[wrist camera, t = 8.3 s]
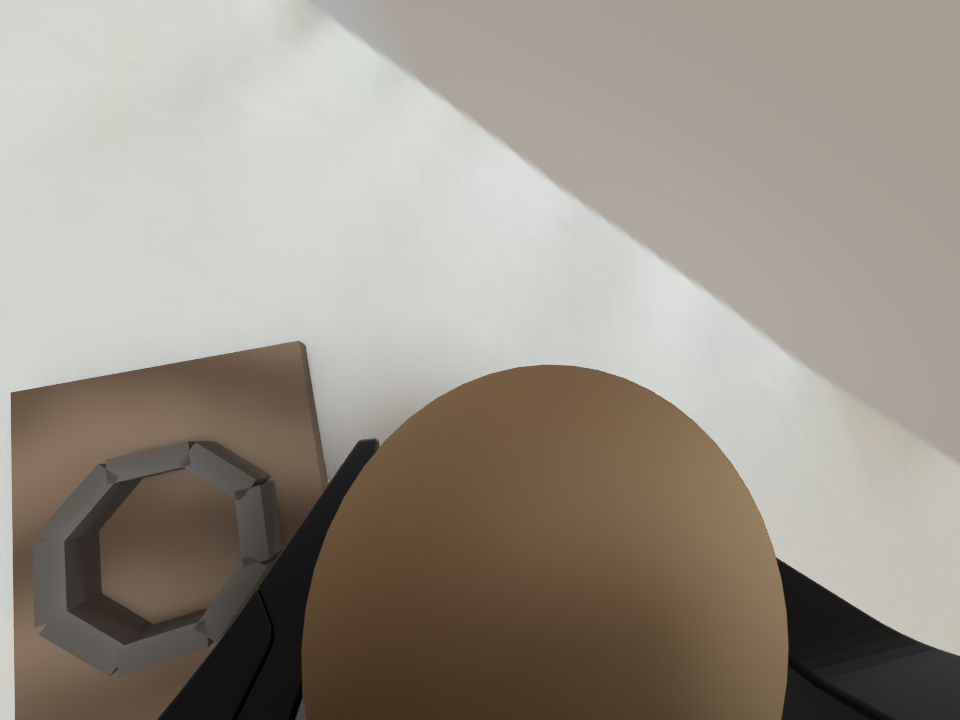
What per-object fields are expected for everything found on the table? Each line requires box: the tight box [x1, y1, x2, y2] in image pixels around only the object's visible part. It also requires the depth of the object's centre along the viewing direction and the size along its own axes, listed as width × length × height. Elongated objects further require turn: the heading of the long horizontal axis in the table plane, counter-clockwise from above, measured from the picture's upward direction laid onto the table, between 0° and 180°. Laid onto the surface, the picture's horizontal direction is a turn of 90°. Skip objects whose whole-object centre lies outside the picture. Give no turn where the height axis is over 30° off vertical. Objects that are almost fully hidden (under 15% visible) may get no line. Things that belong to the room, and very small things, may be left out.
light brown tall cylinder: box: [301, 365, 788, 720], centre depth 9 cm, size 4×4×12 cm
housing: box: [11, 341, 328, 720], centre depth 15 cm, size 16×12×2 cm
